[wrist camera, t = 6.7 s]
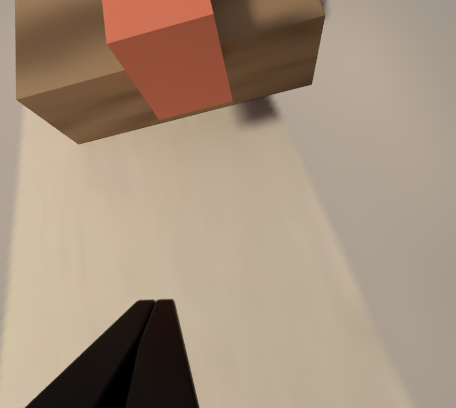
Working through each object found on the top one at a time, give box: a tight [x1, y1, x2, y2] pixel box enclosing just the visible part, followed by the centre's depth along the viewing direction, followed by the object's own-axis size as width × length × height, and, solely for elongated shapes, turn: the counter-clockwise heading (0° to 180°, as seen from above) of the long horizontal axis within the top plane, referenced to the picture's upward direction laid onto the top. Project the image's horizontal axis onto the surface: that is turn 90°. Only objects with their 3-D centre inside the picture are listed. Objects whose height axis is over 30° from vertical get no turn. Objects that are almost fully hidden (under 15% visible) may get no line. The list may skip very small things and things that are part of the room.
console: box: [15, 0, 325, 144], centre depth 20 cm, size 8×18×8 cm, turn 102°
